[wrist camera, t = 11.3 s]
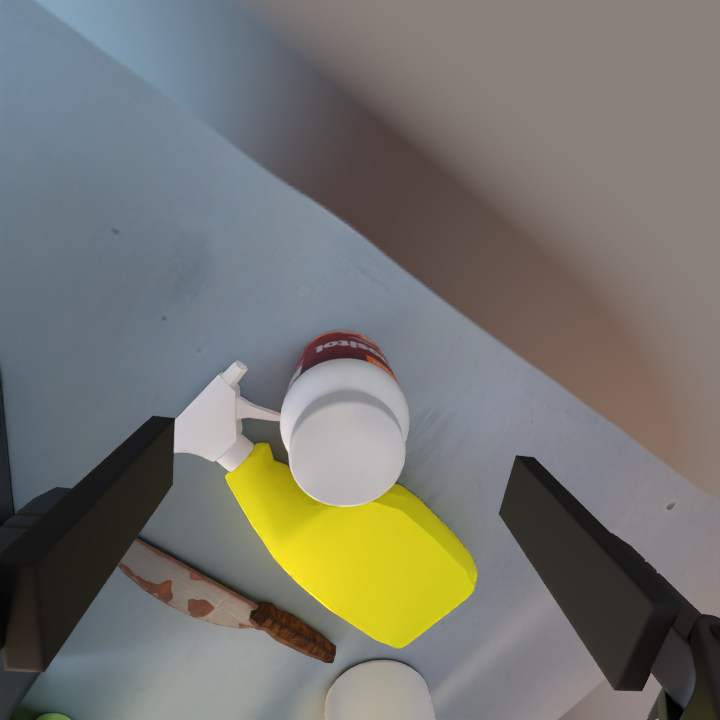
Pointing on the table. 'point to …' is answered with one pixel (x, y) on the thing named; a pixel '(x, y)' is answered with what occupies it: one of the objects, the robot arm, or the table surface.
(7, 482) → the drawer
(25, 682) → the drawer housing
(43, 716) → the teapot
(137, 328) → the table surface
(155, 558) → the kitchen knife
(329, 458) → the pill bottle
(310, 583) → the spray bottle
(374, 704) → the mug
